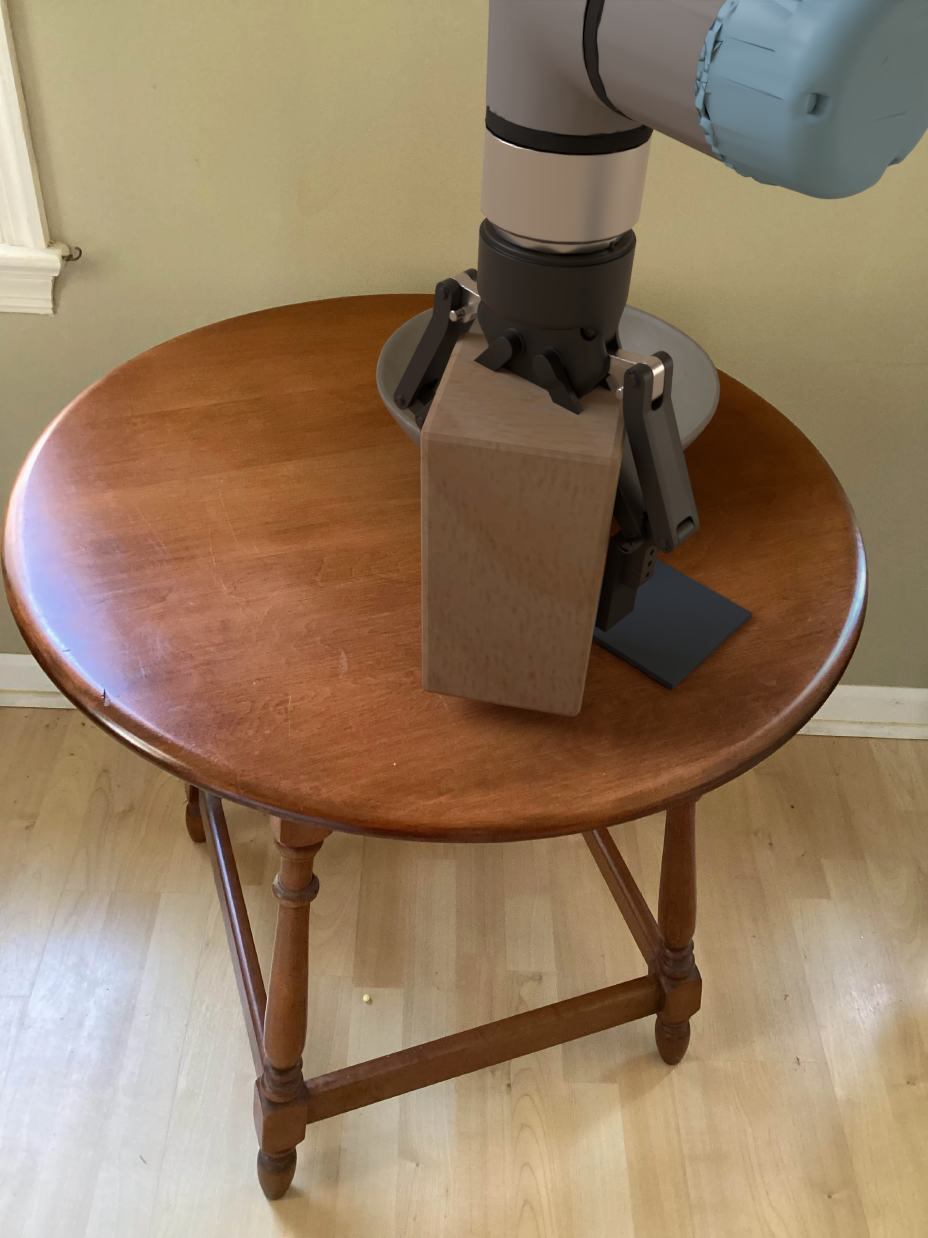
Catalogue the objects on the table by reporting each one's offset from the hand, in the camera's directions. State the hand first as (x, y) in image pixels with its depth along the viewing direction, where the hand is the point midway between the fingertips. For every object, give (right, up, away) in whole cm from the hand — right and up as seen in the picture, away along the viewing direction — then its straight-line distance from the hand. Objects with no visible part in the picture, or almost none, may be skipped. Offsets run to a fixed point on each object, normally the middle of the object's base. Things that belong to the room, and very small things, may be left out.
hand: (525, 565), depth 64 cm
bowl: (+3, +11, +25) cm, 28 cm away
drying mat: (+10, -3, +11) cm, 15 cm away
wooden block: (-1, -5, +5) cm, 7 cm away
